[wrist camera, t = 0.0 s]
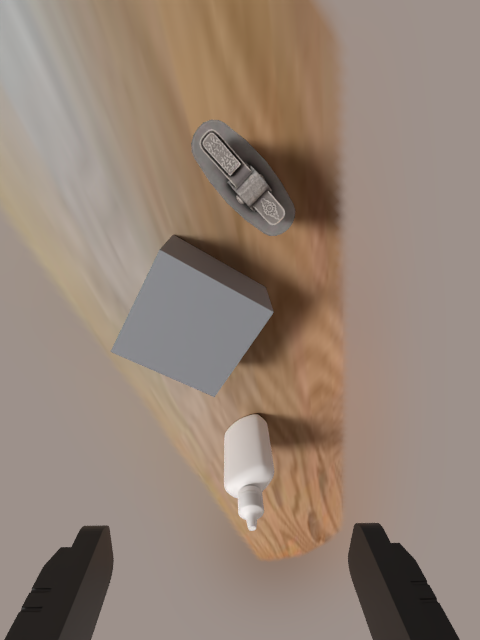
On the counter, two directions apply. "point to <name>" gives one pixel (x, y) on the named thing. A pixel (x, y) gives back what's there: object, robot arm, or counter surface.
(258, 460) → the eye dropper bottle
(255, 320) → the pedestal block
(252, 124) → the counter surface
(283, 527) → the counter surface
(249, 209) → the lighter
